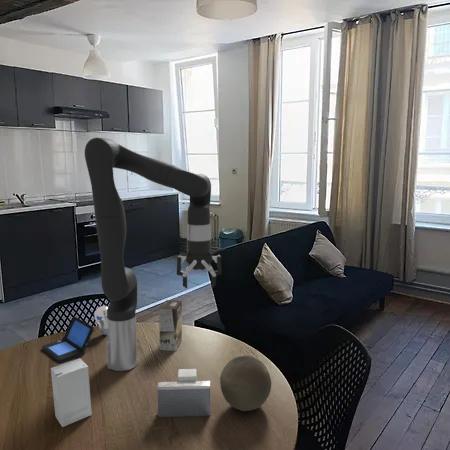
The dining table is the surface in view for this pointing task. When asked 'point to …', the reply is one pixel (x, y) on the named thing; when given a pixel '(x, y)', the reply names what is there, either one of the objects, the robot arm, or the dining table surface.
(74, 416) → the skincare box
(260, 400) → the cantaloupe
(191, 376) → the block
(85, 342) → the handheld game console
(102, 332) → the light bulb
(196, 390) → the grey flat box
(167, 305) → the coffee box
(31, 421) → the dining table surface
